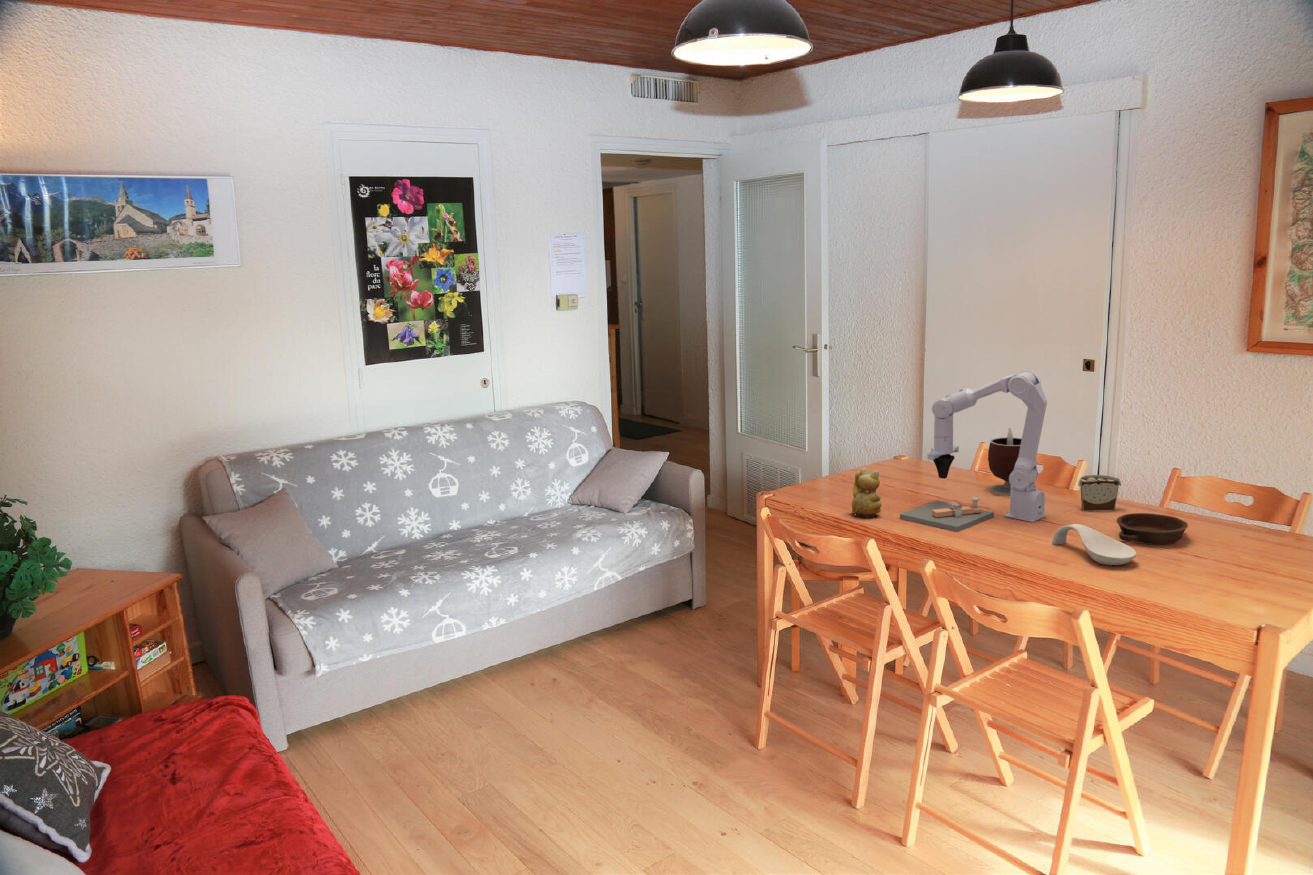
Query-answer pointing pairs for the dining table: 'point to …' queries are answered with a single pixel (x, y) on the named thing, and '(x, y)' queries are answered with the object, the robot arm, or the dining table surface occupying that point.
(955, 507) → the keeper
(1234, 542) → the dining table surface
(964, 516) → the board
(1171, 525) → the dish
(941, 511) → the link
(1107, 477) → the food container
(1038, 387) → the robot arm
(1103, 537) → the spoon rest
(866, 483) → the decorative figurine
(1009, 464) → the mate gourd
